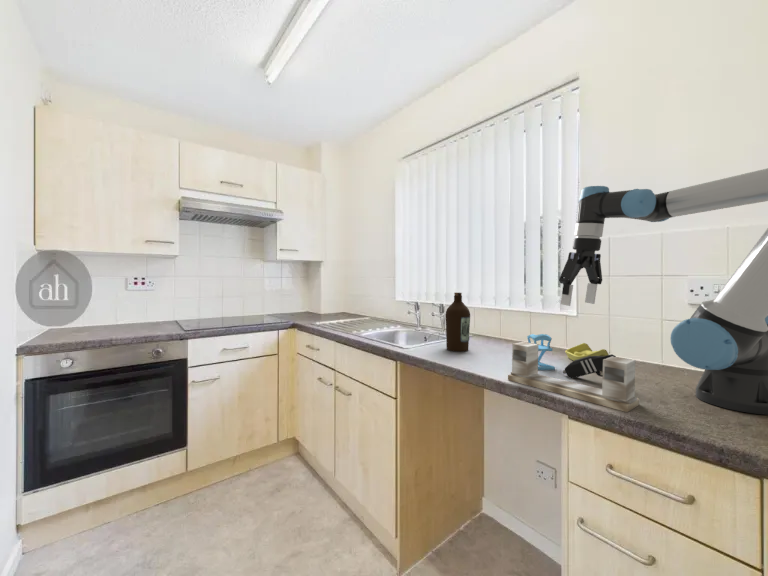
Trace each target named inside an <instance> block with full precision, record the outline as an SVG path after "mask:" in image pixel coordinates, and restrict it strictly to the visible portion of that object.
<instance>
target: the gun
mask: <svg viewBox="0 0 768 576" xmlns="http://www.w3.org/2000/svg"><path fill="white" fill-rule="evenodd" d="M612 356H613V357H617V356H616V355H614V354H609V355H606V356H587V357H584V358H580V359H577V360H574V361H572V362H570V363H569V364H568V365H567V366H566V367H565V368H564V370H562V373H563V374H565V375H567V378H568V379H575V378H580V377H583V376H586V375H591V374H596V375H597V376H598V377H600V378H601V377H602V378H603V374H601V371H602V372H603V359H606V358H609V357H612Z"/></svg>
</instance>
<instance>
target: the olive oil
mask: <svg viewBox="0 0 768 576" xmlns="http://www.w3.org/2000/svg"><path fill="white" fill-rule="evenodd" d="M453 294H454V296H453V302H451V304H450V305H449V306H448V307H447V309H446V311H445V335H446V337H445V338H446V345H445V346H446V349H447V351H451V352H460V353H461V352H467V351H469V345H470V343H469V342H470V328H471V326H470V324H471V313H470V309H469V308H468V307H467V305H466V304H464V303H465V302H463V296H462V294H463V292H454V293H453Z"/></svg>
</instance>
